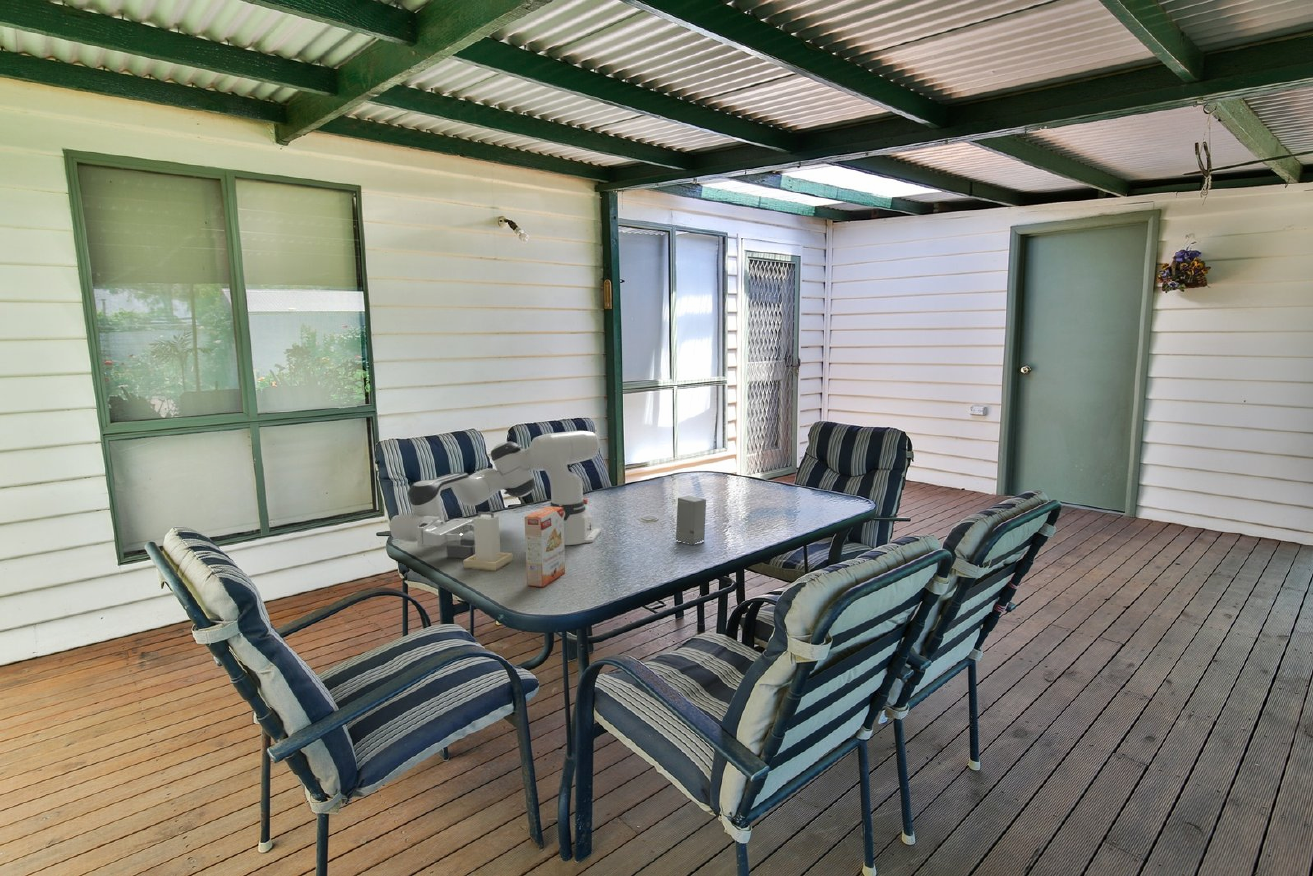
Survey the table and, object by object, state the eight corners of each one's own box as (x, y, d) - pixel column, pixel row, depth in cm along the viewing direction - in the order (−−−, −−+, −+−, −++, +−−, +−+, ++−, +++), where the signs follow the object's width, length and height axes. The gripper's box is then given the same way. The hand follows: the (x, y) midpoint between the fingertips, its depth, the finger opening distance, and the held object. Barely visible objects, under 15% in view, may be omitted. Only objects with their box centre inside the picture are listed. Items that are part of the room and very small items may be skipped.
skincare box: (675, 542, 248) (674, 497, 246) (688, 537, 253) (688, 494, 251) (694, 546, 242) (693, 501, 240) (707, 541, 248) (706, 497, 245)
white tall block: (484, 559, 230) (481, 509, 228) (500, 561, 229) (498, 511, 226) (475, 564, 226) (473, 513, 224) (492, 565, 224) (489, 514, 222)
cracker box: (544, 588, 204) (541, 517, 201) (526, 586, 206) (522, 516, 203) (566, 573, 217) (564, 506, 214) (549, 571, 219) (546, 505, 216)
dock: (462, 549, 245) (462, 538, 244) (488, 551, 241) (487, 540, 241) (447, 556, 236) (446, 545, 236) (473, 559, 233) (473, 547, 232)
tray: (482, 558, 234) (481, 550, 234) (513, 560, 230) (512, 553, 230) (463, 568, 224) (463, 560, 224) (495, 571, 220) (495, 563, 220)
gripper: (453, 530, 242) (488, 533, 238) (414, 548, 223) (452, 551, 219) (451, 512, 241) (487, 515, 237) (413, 528, 222) (451, 532, 218)
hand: (470, 533), depth 228 cm, fingers open, 8 cm apart
